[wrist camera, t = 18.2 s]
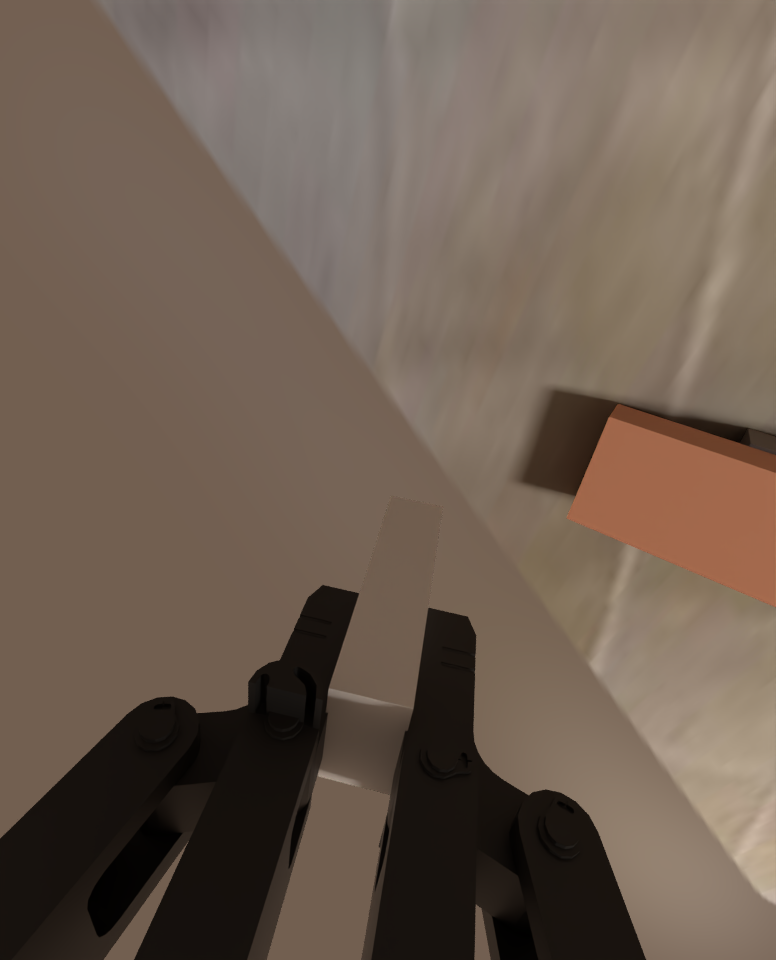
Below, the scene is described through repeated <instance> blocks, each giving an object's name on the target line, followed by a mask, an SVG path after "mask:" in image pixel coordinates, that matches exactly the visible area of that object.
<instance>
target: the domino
mask: <svg viewBox="0 0 776 960" xmlns="http://www.w3.org/2000/svg"><path fill="white" fill-rule="evenodd" d="M567 519H570V520H572V521H574V522H577V523H579V524H581V525H584V526H586V527H588V528H591V529H593V530H595V531H598V532H600V533H602V534H605V535H607V536H610V537H612V538H614V539H617V540H619V541H621V542H624V543H626V544H628V545H631V546H633V547H635V548H638V549H640V550H642V551H645V552H647V553H650V554H652V555H654V556H657V557H659V558H661V559H664V560H666V561H668V562H671V563H673V564H675V565H678V566H680V567H682V568H685V569H687V570H689V571H692V572H694V573H697V574H699V575H701V576H704V577H706V578H708V579H711V580H713V581H715V582H718V583H720V584H722V585H725V586H727V587H729V588H732V589H734V590H737V591H739V592H741V593H744V594H746V595H748V596H751V597H753V598H755V599H758V600H760V601H762V602H765V603H767V604H769V605H772V606H774V607H776V455H774V454H771V453H768V452H765V451H761V450H758V449H755V448H752V447H749V446H746V445H743V444H740V443H737V442H734V441H731V440H728V439H725V438H722V437H719V436H716V435H712V434H709V433H706V432H703V431H700V430H697V429H694V428H691V427H688V426H685V425H682V424H679V423H676V422H673V421H670V420H666V419H663V418H660V417H657V416H654V415H651V414H648V413H645V412H642V411H639V410H636V409H633V408H630V407H627V406H624V405H621V404H617V406H616V407H615V409H614V410H613V412H612V413H611V415H610V416H609V418H608V421H607V423H606V425H605V428H604V430H603V433H602V435H601V437H600V440H599V442H598V444H597V447H596V449H595V452H594V454H593V456H592V459H591V461H590V463H589V466H588V468H587V471H586V473H585V475H584V478H583V480H582V482H581V485H580V487H579V490H578V492H577V494H576V497H575V499H574V501H573V504H572V506H571V509H570V511H569V513H568V516H567Z"/></svg>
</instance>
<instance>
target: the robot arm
mask: <svg viewBox="0 0 776 960" xmlns="http://www.w3.org/2000/svg"><path fill="white" fill-rule="evenodd" d="M442 510H443V506H437V505H433V504H428V503H424V502H419V501H414V500H410V499H405V498H400V497H395V496H391V497H390V501H389V504H388V507H387V510H386V513H385V516H384V519H383V522H382V525H381V528H380V531H379V534H378V538H377V541H376V544H375V547H374V550H373V553H372V556H371V559H370V562H369V565H368V568H367V571H366V575H365V578H364V581H363V584H362V587H361V590H360V593H355V592H351V591H347V590H342V589H338V588H333V587H329V586H324V585H322V586H321V587H320V588H319V589H318V590H316V591H315V592H314V593H313V594H312V595H311V596H309V597H308V599H307V601H306V604H305V605H304V608H303V610H302V612H301V614H300V618H299V619H298V621H297V623H296V626H295V628H294V631H293V633H292V635H291V637H290V639H289V641H288V644H287V646H286V648H285V650H284V653H283V655H282V657H281V659H280V660H279V661H275V662H271V663H268V664H267V665H265V666H263V667H262V668H260V669H259V670H257V671H256V672H255V674H254V675H253V676H252V678H251V679H250V680H249V682H248V686H249V687H248V697H249V698H248V699H249V700H248V705H247V706H244V707H242V708H239V709H236V710H231V711H224V712H210V713H196V710H195V708H194V707H192V706H191V705H190V704H189V703H188V702H186V701H185V700H182V699H178V698H175V697H160V698H155V699H153V700H150V701H147V702H144V703H142V704H140V705H139V706H138V707H136V708H135V709H133V710H132V711H131V712H129V713H128V714H127V715H126V716H125V717H124V718H123V719H122V720H121V721H120V722H119V723H118V724H117V725H116V726H115V727H114V728H113V729H112V730H111V731H110V732H109V733H108V734H107V735H106V736H105V737H104V738H103V739H101V740H100V741H99V742H98V743H97V744H96V745H95V747H93V748H92V749H91V750H90V752H88V753H87V754H86V755H85V756H84V757H83V758H82V759H81V760H80V761H79V762H78V763H77V764H76V765H75V766H74V767H73V768H72V769H71V770H70V771H69V772H68V773H67V774H66V775H65V776H64V777H63V778H62V779H61V780H60V781H59V782H58V783H57V784H56V785H55V786H54V787H52V788H51V790H49V792H47V793H46V795H44V796H43V797H42V798H41V799H40V800H39V801H38V802H37V803H36V804H35V805H34V806H33V807H32V808H31V809H30V810H29V811H28V812H27V813H26V814H25V815H24V816H23V817H22V818H21V819H20V820H19V821H18V822H17V823H16V824H15V825H14V826H13V827H12V828H11V829H10V830H9V831H8V832H7V833H6V834H5V835H3V836H2V837H1V838H0V960H104V958H105V957H106V955H107V954H108V952H109V951H110V950H111V948H112V947H113V945H114V944H115V943H116V941H117V940H118V939H119V937H120V936H121V934H122V933H123V932H124V930H125V929H126V927H127V926H128V925H129V923H130V922H131V920H132V919H133V918H134V916H135V915H136V913H137V912H138V911H139V909H140V908H141V906H142V905H143V904H144V902H145V901H146V899H147V898H148V897H149V895H150V894H151V892H152V891H153V890H154V888H155V887H156V886H157V884H158V883H159V881H160V880H161V879H162V877H163V876H164V874H165V873H166V872H167V870H168V869H169V867H170V866H171V865H172V863H173V862H174V860H175V859H176V857H177V856H178V854H179V853H180V852H181V851H182V849H183V848H184V846H185V845H186V844H187V842H188V841H189V842H188V844H187V846H186V848H185V851H184V853H183V855H182V857H181V859H180V861H179V863H178V866H177V868H176V870H175V872H174V874H173V877H172V879H171V881H170V883H169V885H168V887H167V890H166V892H165V894H164V896H163V898H162V900H161V903H160V905H159V907H158V909H157V911H156V913H155V916H154V918H153V920H152V922H151V924H150V926H149V929H148V931H147V933H146V935H145V937H144V939H143V942H142V944H141V946H140V948H139V950H138V952H137V955H136V957H135V959H134V960H267V956H268V953H269V949H270V946H271V942H272V939H273V935H274V932H275V928H276V925H277V921H278V918H279V914H280V911H281V908H282V904H283V900H284V897H285V893H286V890H287V887H288V883H289V880H290V876H291V873H292V869H293V866H294V863H295V859H296V856H297V852H298V849H299V845H300V842H301V838H302V835H303V831H304V827H305V824H306V821H307V817H308V814H309V810H310V806H311V796H312V792H313V788H314V785H315V781H316V778H317V775H318V776H319V777H323V778H327V779H330V780H335V781H339V782H342V783H346V784H350V785H354V786H358V787H361V788H365V789H369V790H373V791H377V792H381V793H385V794H388V795H390V801H389V807H388V813H387V817H386V821H385V825H384V828H383V833H382V836H381V840H380V843H379V847H380V853H379V859H378V864H377V870H376V876H375V882H374V888H373V894H372V900H371V906H370V912H369V919H368V924H367V930H366V936H365V941H364V948H363V953H362V959H361V960H474V952H475V951H474V950H475V905H476V904H477V905H478V906H479V907H481V908H482V912H483V918H484V924H485V929H486V935H487V940H488V946H489V952H490V957H491V960H646V959H645V956H644V953H643V950H642V948H641V945H640V942H639V940H638V937H637V934H636V932H635V929H634V926H633V924H632V921H631V918H630V916H629V913H628V911H627V908H626V905H625V903H624V900H623V897H622V894H621V892H620V889H619V887H618V884H617V881H616V879H615V876H614V873H613V871H612V868H611V865H610V863H609V860H608V858H607V855H606V852H605V850H604V847H603V844H602V841H601V839H600V836H599V834H598V831H597V829H596V827H595V826H594V824H593V822H592V820H591V819H590V816H589V815H588V814H587V813H586V812H585V811H584V810H583V809H582V808H581V807H580V806H579V804H578V803H577V802H576V801H574V800H572V799H570V798H569V797H567V796H565V795H564V794H562V793H559V792H555V791H550V790H542V791H537V792H533V793H531V794H530V795H527V794H525V793H524V792H522V791H520V790H519V789H517V788H515V787H514V786H512V785H511V784H509V783H507V782H506V781H504V780H503V779H501V778H500V777H499V776H497V775H496V774H495V773H493V772H492V771H491V770H490V768H489V767H488V766H487V765H486V764H485V763H484V761H483V760H482V758H481V757H480V755H479V753H478V751H477V748H476V745H475V743H474V734H473V721H474V719H473V718H474V688H475V687H474V686H475V653H476V634H475V632H474V630H473V627H472V625H471V623H470V621H469V619H468V617H467V616H462V615H458V614H454V613H449V612H445V611H440V610H436V609H432V608H428V605H429V599H430V592H431V585H432V578H433V572H434V565H435V558H436V551H437V544H438V538H439V531H440V524H441V517H442ZM189 839H190V840H189Z"/></svg>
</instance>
